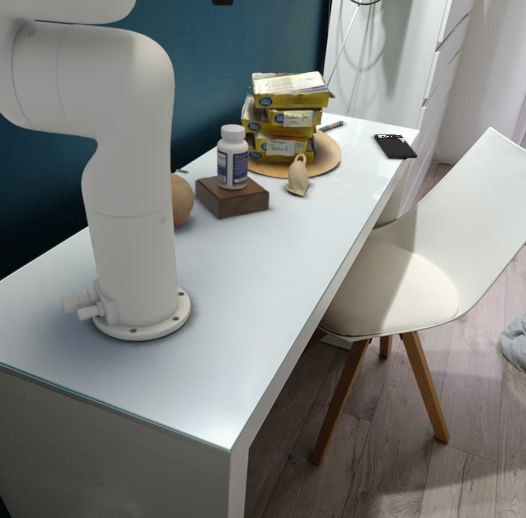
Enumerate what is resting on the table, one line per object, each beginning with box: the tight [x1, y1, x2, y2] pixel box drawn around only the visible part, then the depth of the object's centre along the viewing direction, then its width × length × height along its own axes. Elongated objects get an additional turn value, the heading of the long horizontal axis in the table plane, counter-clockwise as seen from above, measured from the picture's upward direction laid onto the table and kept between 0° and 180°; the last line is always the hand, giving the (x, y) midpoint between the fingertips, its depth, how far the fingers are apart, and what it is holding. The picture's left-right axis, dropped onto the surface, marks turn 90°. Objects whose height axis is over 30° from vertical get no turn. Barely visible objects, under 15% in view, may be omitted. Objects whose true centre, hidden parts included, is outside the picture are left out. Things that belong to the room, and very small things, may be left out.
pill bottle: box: [216, 124, 249, 190], centre depth 87 cm, size 5×5×10 cm
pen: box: [316, 120, 344, 132], centre depth 129 cm, size 1×14×1 cm
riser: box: [194, 175, 270, 220], centre depth 91 cm, size 10×10×4 cm
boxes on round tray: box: [240, 71, 342, 179], centre depth 107 cm, size 25×25×17 cm
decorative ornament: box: [285, 154, 310, 197], centre depth 98 cm, size 4×8×5 cm, turn 164°
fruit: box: [171, 172, 195, 228], centre depth 83 cm, size 8×8×8 cm
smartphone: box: [373, 133, 418, 159], centre depth 121 cm, size 7×1×15 cm
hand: (207, 0), depth 75 cm, fingers open, 9 cm apart
